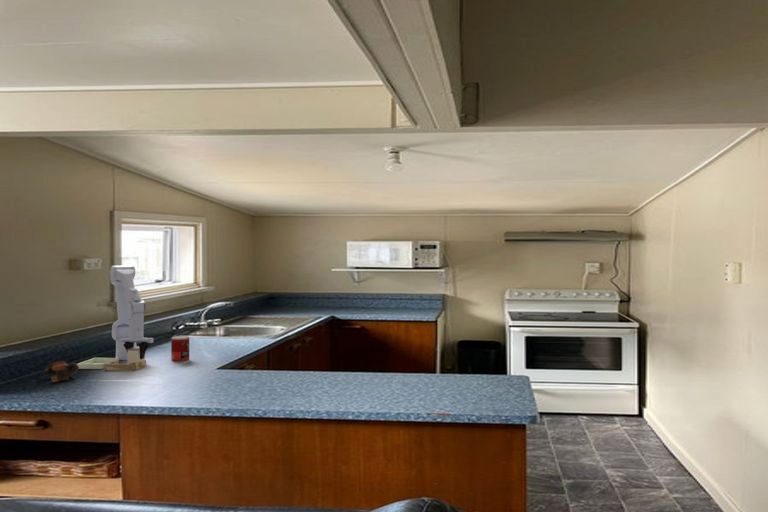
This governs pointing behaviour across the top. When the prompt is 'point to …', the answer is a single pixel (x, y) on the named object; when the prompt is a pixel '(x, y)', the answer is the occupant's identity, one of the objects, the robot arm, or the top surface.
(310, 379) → the top surface
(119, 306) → the robot arm
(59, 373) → the toy turtle
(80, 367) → the tray
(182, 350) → the canned food
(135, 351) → the grey box
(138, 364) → the dock
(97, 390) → the top surface
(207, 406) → the top surface
